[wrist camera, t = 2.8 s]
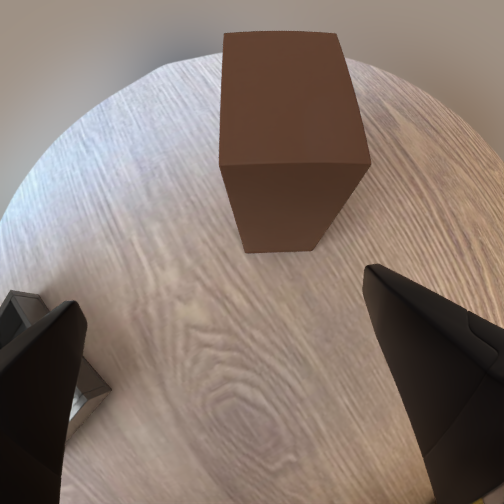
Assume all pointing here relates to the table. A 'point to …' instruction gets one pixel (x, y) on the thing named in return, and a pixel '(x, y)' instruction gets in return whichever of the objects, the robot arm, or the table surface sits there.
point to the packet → (288, 136)
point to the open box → (89, 382)
